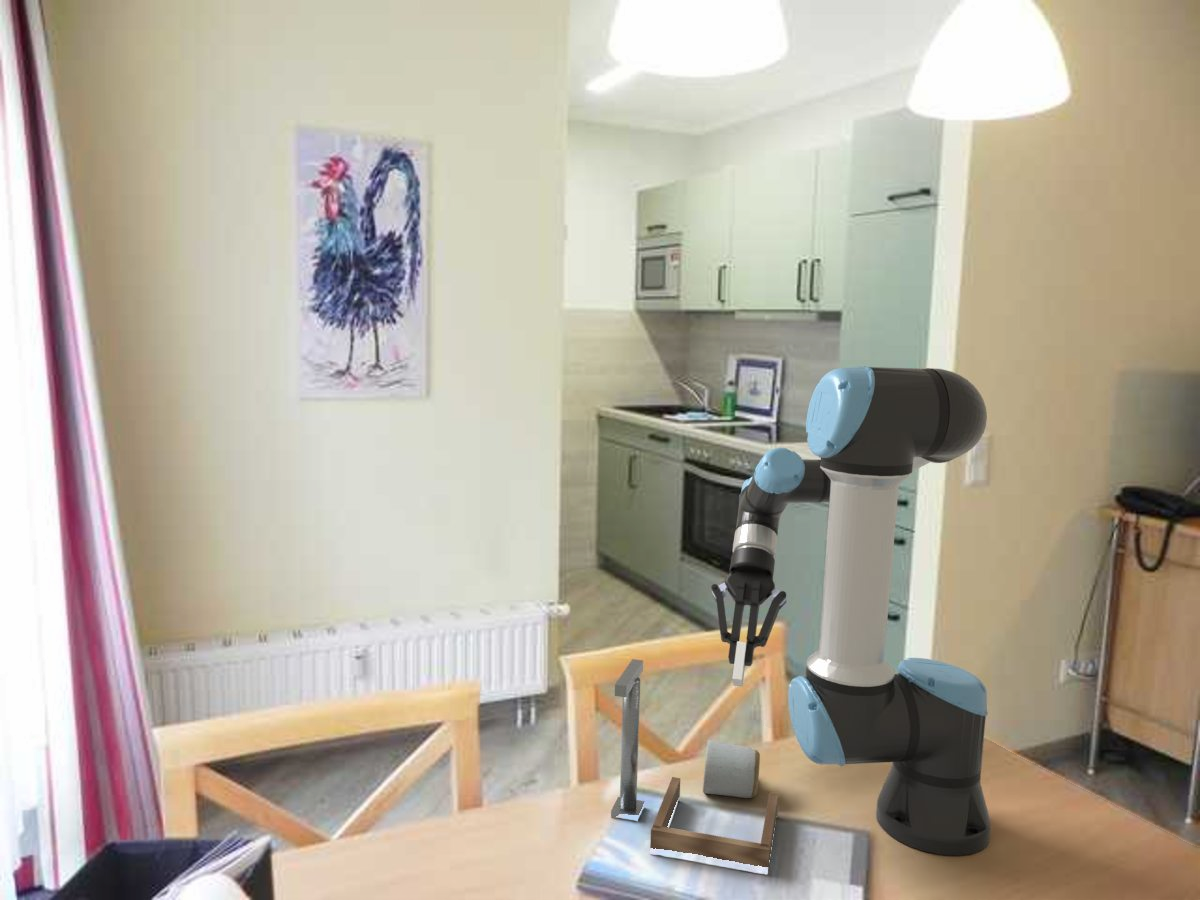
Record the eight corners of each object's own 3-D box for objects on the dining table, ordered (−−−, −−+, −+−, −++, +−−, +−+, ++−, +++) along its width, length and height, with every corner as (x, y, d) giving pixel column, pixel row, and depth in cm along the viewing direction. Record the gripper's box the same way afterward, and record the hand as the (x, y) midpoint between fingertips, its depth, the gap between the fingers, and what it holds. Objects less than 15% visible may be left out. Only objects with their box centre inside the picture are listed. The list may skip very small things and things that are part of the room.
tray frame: (776, 816, 126) (778, 793, 126) (767, 875, 112) (769, 850, 112) (671, 799, 130) (672, 776, 130) (650, 854, 116) (650, 829, 116)
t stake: (646, 802, 129) (651, 661, 127) (630, 839, 120) (635, 687, 117) (620, 798, 130) (624, 658, 128) (602, 834, 121) (606, 683, 118)
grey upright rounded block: (758, 808, 128) (760, 758, 128) (701, 802, 130) (704, 752, 129) (757, 775, 139) (759, 728, 138) (705, 769, 140) (707, 723, 139)
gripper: (791, 570, 155) (779, 697, 142) (717, 563, 159) (699, 686, 145) (791, 548, 150) (778, 678, 136) (714, 541, 153) (694, 667, 139)
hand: (737, 682), depth 141 cm, fingers closed
